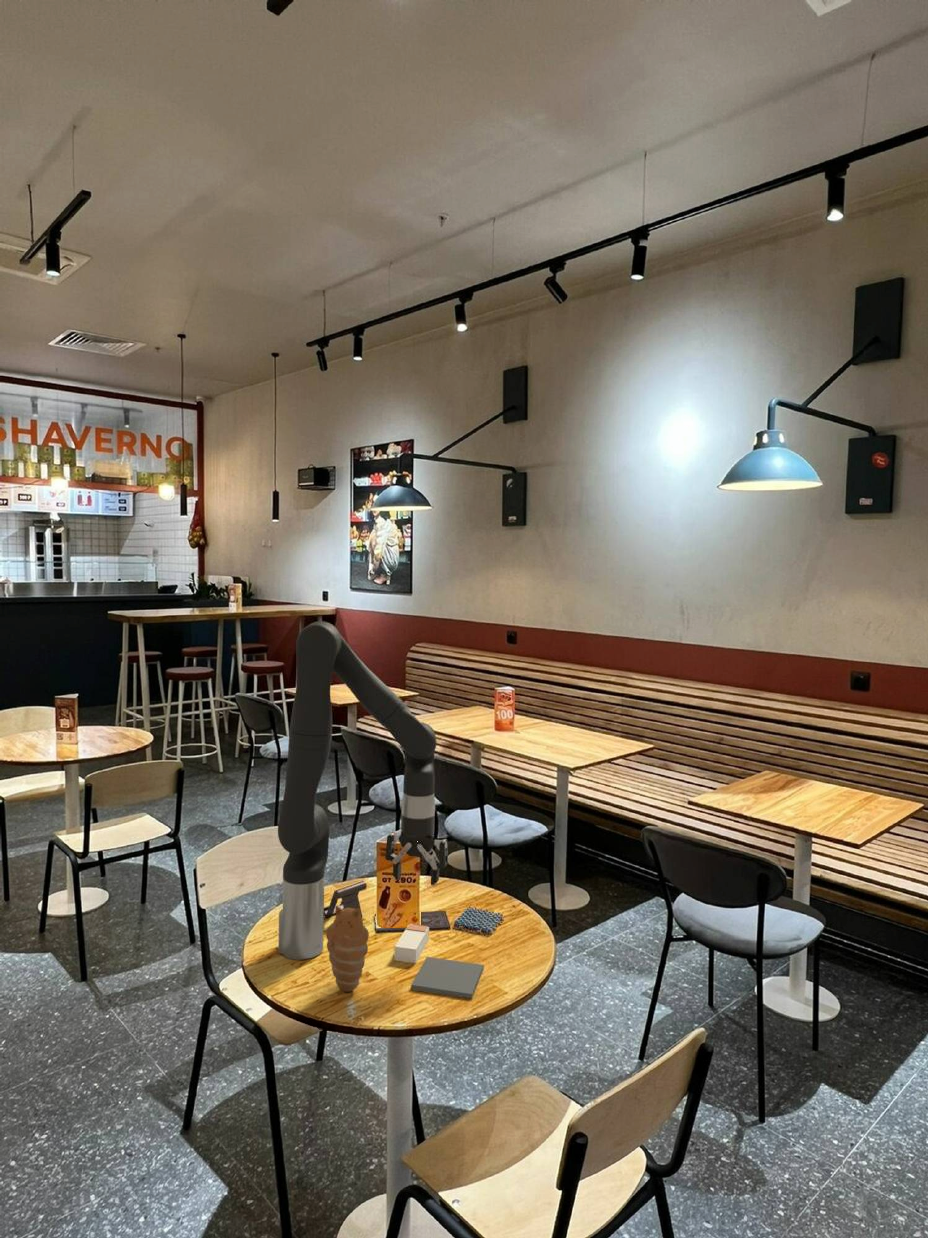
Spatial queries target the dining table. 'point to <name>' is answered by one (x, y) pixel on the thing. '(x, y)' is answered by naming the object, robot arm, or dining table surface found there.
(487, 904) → the dining table surface
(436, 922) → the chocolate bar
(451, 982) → the rubber mat
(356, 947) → the cat ice cream
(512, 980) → the dining table surface
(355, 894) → the portable electronic device stand
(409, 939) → the block with tan end
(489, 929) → the woven mat
